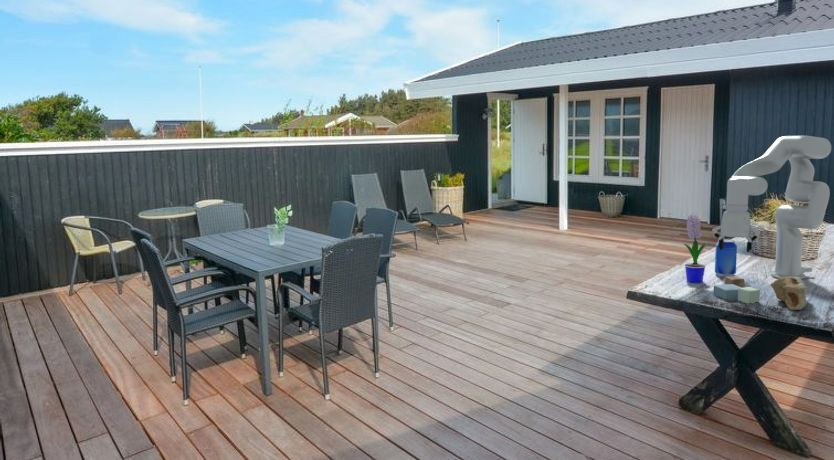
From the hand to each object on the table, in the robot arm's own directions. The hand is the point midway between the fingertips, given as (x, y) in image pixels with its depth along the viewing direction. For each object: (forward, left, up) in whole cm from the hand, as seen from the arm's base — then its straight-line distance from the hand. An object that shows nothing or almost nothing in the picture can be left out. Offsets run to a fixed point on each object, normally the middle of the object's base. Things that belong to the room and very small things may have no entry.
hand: (734, 250), depth 230 cm
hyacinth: (+8, -15, -17) cm, 24 cm away
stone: (-8, +22, -17) cm, 29 cm away
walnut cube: (0, 0, -17) cm, 17 cm away
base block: (+7, +9, -17) cm, 20 cm away
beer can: (-9, -23, -17) cm, 30 cm away
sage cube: (+4, +17, -17) cm, 24 cm away
